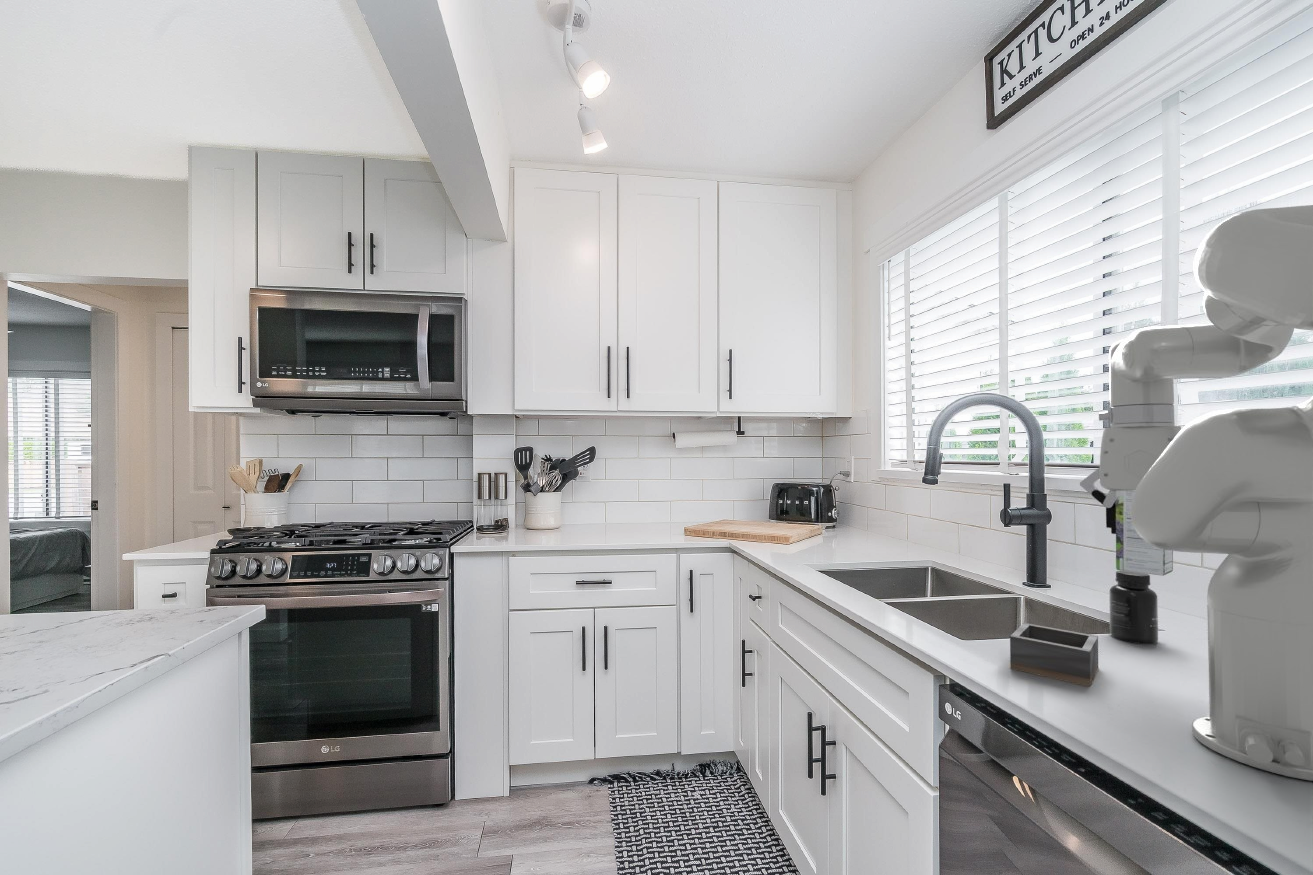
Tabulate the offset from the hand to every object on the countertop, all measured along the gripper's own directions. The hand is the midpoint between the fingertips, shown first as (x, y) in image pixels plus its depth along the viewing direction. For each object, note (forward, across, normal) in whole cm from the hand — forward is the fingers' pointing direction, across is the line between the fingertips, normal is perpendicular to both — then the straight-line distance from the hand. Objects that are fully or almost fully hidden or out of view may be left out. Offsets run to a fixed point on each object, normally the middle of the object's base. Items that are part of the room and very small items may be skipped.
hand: (1144, 534), depth 87 cm
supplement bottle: (+22, -3, +22) cm, 31 cm away
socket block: (+21, -11, -6) cm, 25 cm away
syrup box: (+6, 0, 0) cm, 6 cm away
